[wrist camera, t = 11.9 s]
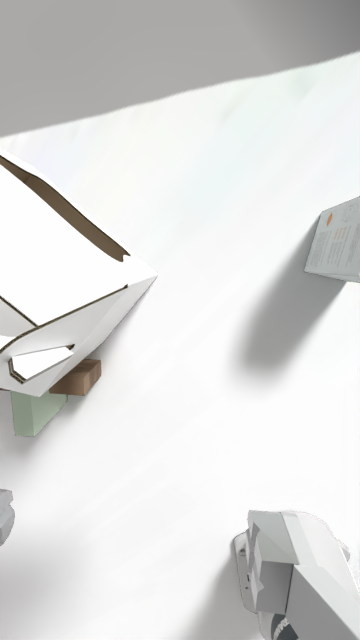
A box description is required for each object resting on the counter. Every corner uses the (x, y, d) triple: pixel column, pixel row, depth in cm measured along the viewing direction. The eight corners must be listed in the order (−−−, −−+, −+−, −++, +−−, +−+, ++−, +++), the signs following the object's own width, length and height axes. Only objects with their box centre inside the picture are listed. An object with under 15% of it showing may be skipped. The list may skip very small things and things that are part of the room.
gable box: (160, 275, 39) (71, 311, 11) (104, 343, 41) (-78, 504, 14) (32, 165, 37) (-454, -118, 9) (-18, 243, 39) (-513, 204, 12)
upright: (100, 360, 42) (83, 377, 35) (101, 375, 42) (84, 395, 36) (11, 354, 42) (-21, 371, 36) (13, 370, 43) (-19, 388, 37)
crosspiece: (67, 401, 44) (34, 437, 35) (51, 400, 44) (15, 435, 35) (63, 328, 41) (26, 346, 32) (46, 327, 41) (6, 345, 32)
